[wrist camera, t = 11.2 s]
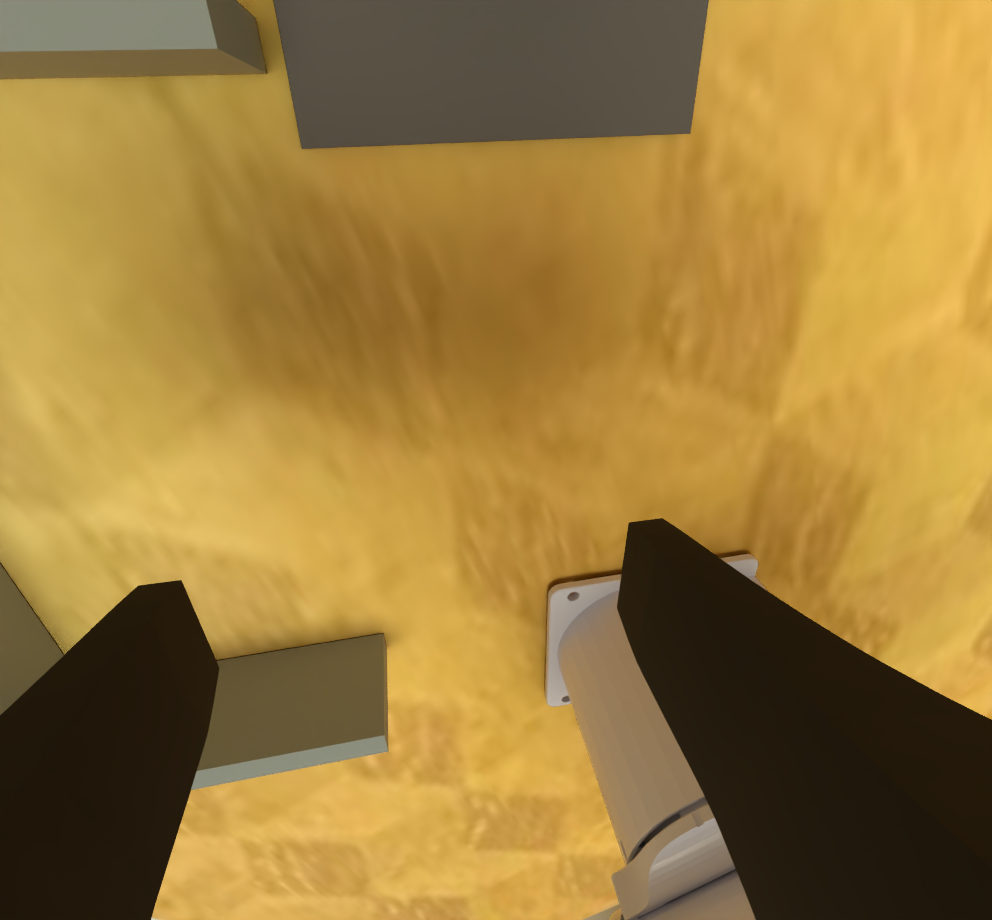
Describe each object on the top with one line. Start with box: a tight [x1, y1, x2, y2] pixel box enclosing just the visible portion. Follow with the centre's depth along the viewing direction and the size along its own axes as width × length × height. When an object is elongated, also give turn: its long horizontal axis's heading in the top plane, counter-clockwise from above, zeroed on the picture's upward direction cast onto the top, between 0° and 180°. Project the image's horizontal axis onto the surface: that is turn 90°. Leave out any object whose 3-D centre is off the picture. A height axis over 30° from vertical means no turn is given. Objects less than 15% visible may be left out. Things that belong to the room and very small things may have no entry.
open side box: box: [0, 0, 388, 790], centre depth 15 cm, size 12×21×4 cm, turn 1°
